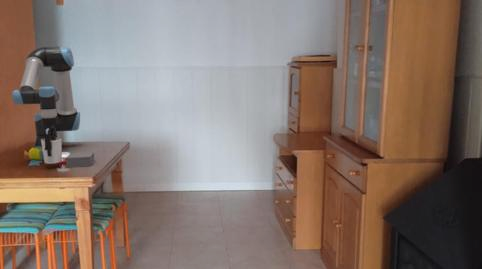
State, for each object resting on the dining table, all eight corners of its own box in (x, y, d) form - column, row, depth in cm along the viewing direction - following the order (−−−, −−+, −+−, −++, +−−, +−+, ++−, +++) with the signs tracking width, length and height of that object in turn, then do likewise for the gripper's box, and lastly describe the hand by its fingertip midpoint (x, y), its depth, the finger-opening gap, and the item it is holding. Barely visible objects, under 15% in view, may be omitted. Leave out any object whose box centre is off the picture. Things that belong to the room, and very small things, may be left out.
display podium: (71, 162, 244) (71, 153, 243) (94, 161, 245) (93, 152, 245) (66, 167, 232) (65, 157, 231) (90, 166, 234) (90, 156, 233)
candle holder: (50, 164, 226) (48, 141, 224) (38, 162, 231) (36, 139, 229) (67, 160, 234) (65, 138, 232) (55, 158, 240) (53, 136, 237)
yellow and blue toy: (27, 142, 260) (55, 141, 264) (28, 157, 261) (56, 155, 266) (19, 151, 233) (51, 150, 238) (21, 167, 235) (52, 166, 240)
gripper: (51, 119, 219) (55, 164, 223) (62, 114, 240) (65, 155, 244) (35, 120, 218) (39, 165, 222) (47, 114, 239) (50, 155, 243)
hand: (53, 160), depth 233 cm, fingers closed on candle holder, 9 cm apart
